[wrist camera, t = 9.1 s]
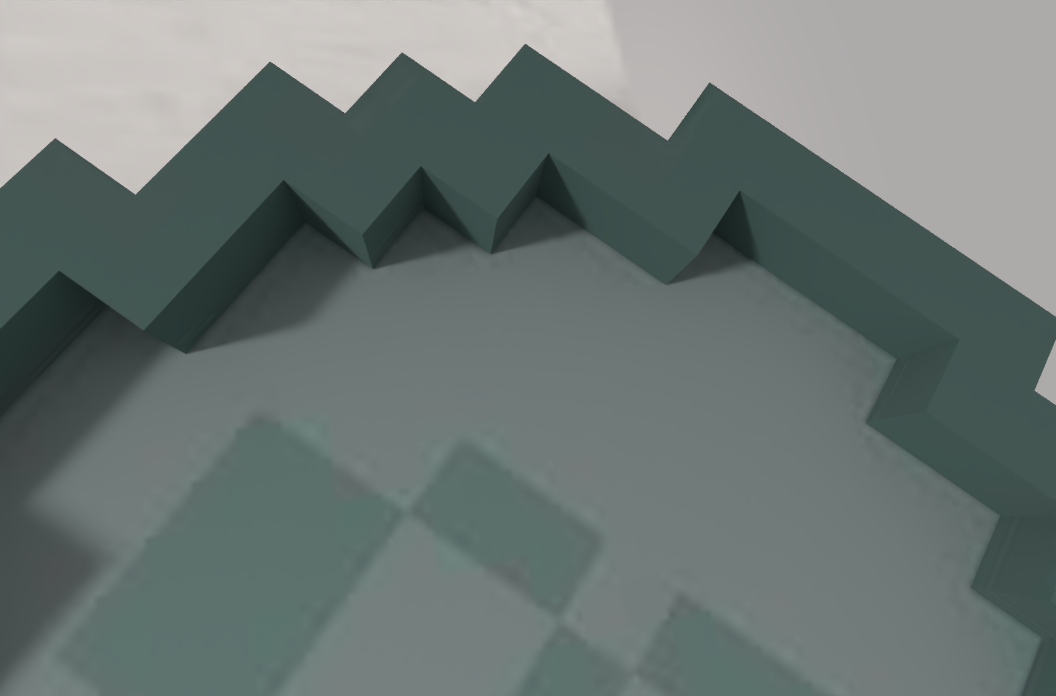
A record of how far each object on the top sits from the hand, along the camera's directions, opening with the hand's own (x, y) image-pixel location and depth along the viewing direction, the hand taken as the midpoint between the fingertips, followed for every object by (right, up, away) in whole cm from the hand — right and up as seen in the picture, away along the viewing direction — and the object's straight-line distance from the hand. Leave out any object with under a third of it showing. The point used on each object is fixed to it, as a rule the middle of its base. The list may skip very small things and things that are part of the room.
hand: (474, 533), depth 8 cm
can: (-1, -3, +8) cm, 9 cm away
